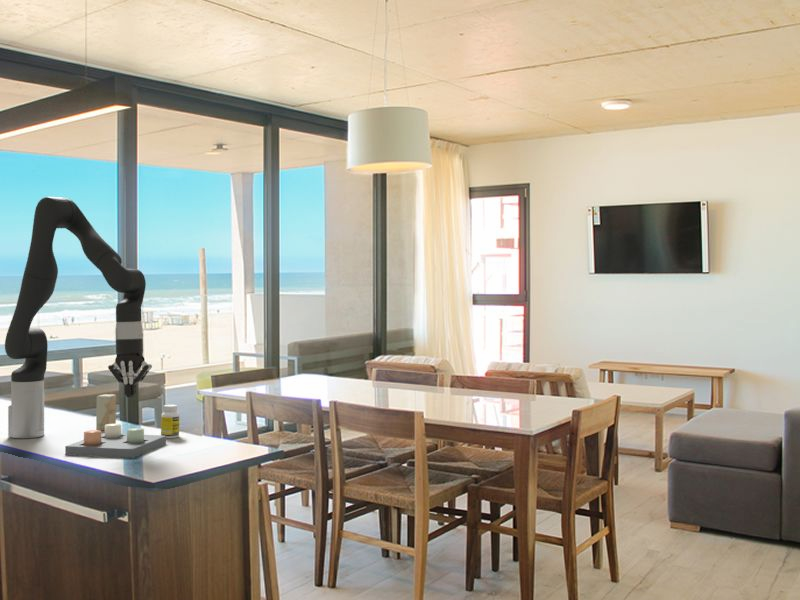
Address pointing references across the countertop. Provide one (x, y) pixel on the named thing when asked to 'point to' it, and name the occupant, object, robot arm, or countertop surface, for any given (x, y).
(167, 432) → the supplement bottle
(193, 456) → the countertop surface
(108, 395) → the box
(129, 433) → the sage button
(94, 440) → the terracotta button
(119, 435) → the cream piece
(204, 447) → the countertop surface
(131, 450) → the panel
